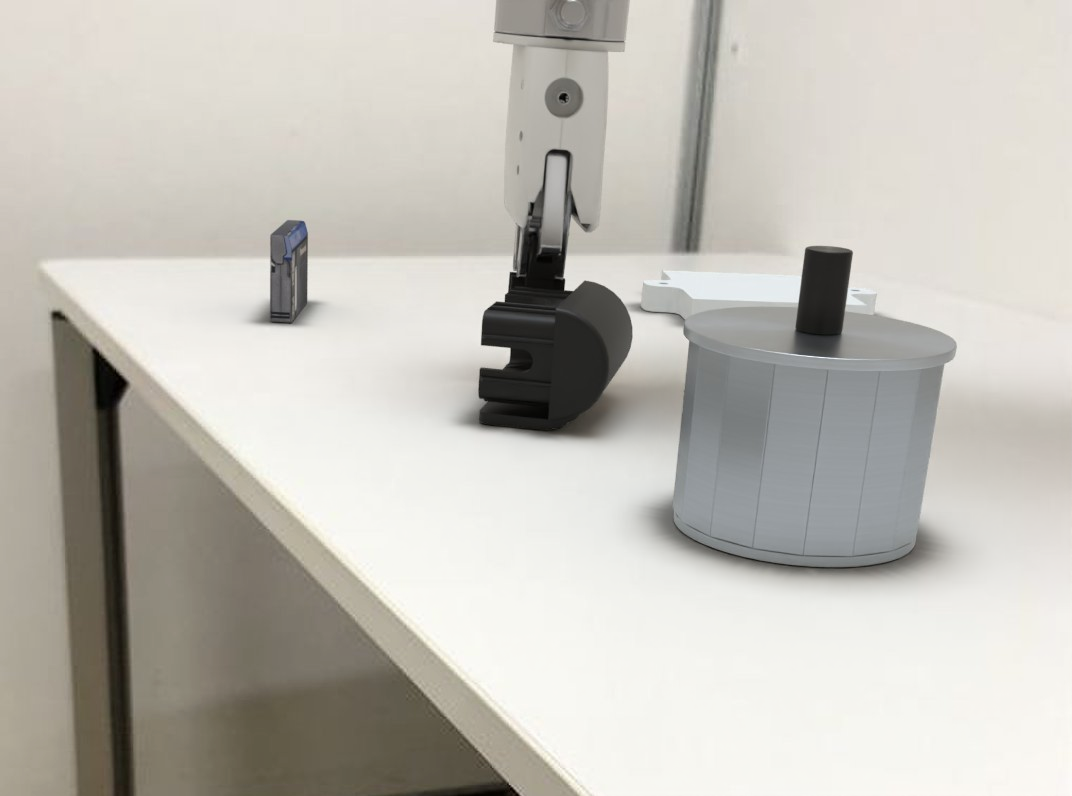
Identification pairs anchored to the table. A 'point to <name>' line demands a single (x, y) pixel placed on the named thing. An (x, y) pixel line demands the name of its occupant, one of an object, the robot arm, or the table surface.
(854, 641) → the table surface
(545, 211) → the robot arm
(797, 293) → the mounting plate
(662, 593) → the table surface
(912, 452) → the pot
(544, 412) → the end cap
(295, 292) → the mini dv tape
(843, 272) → the pot lid
